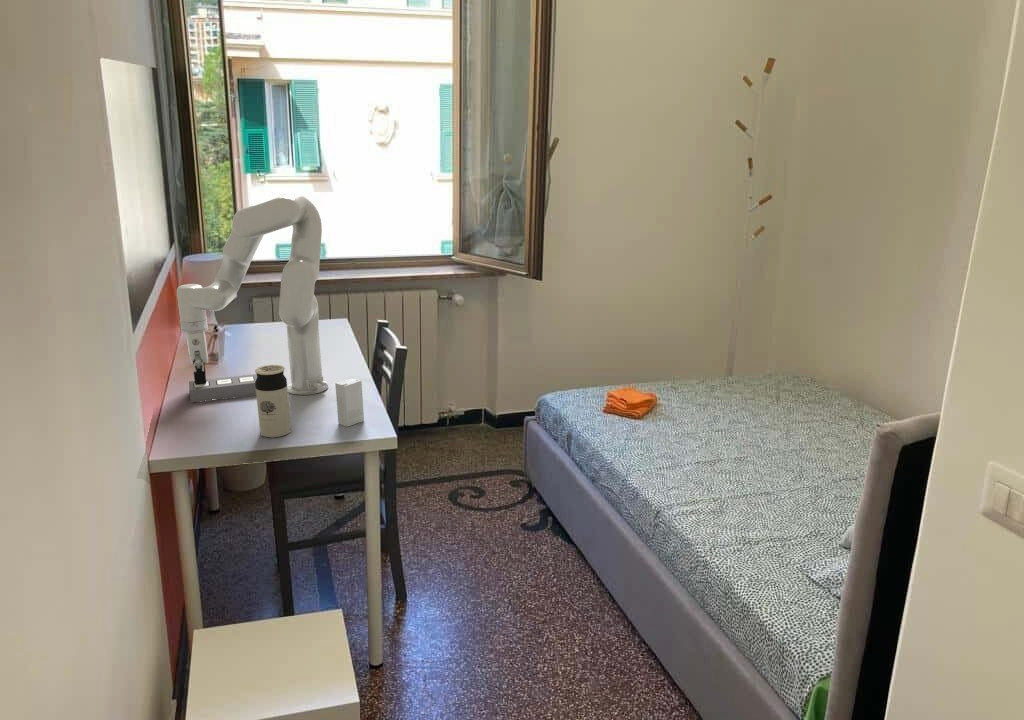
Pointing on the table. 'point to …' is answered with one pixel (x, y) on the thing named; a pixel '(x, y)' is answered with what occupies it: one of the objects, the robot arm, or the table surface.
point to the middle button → (224, 381)
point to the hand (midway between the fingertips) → (200, 379)
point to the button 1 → (201, 385)
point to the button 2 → (246, 379)
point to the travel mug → (272, 401)
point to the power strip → (223, 389)
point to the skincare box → (349, 402)
